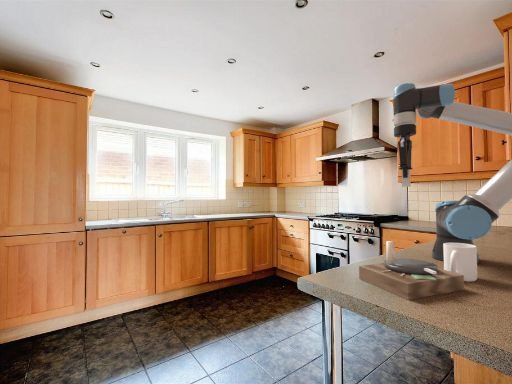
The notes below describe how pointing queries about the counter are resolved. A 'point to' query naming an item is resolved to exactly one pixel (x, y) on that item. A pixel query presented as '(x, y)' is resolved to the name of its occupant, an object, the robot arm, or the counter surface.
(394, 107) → the robot arm
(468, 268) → the mug
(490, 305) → the counter surface
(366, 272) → the board
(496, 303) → the counter surface
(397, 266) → the gray pegged oval disc
